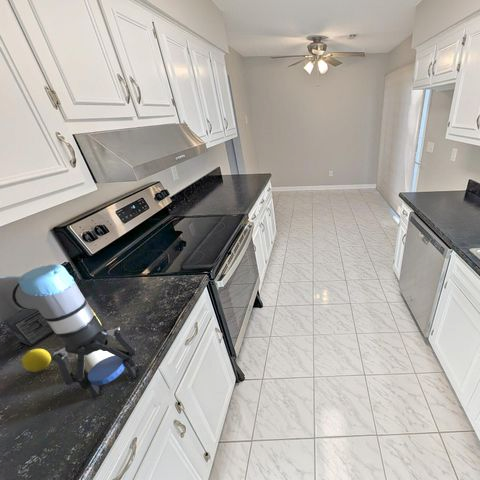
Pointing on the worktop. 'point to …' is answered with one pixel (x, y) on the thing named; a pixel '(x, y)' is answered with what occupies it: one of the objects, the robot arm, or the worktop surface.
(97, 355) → the jar
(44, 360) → the lemon
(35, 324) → the small box
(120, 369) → the lid
